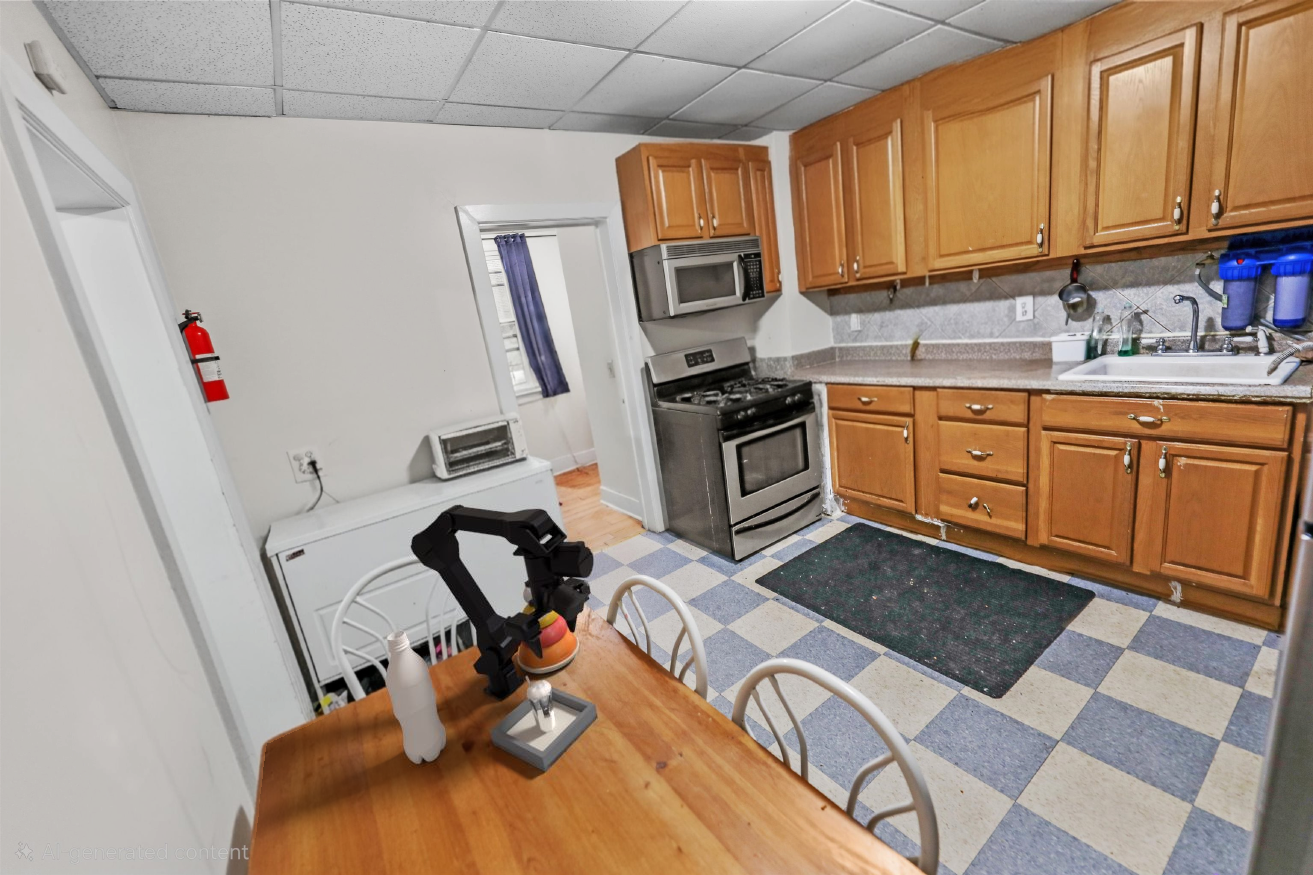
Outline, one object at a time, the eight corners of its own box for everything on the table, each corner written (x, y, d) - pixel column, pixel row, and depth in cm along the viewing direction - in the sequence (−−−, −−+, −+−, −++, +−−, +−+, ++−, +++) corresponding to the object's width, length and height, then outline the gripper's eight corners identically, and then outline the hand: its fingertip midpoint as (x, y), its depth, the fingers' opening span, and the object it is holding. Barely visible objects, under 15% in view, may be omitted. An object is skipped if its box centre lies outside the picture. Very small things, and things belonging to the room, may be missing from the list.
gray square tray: (493, 744, 101) (489, 730, 100) (546, 696, 112) (543, 683, 111) (545, 772, 93) (542, 757, 92) (597, 717, 104) (595, 704, 103)
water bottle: (434, 769, 97) (400, 647, 91) (399, 767, 98) (364, 647, 93) (456, 738, 104) (426, 623, 98) (423, 737, 105) (392, 623, 100)
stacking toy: (561, 631, 135) (547, 560, 130) (592, 654, 124) (578, 577, 119) (508, 660, 126) (491, 584, 122) (536, 687, 115) (519, 605, 111)
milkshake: (545, 713, 106) (535, 669, 103) (563, 723, 102) (554, 677, 100) (526, 728, 102) (516, 683, 100) (545, 739, 99) (535, 692, 97)
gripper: (536, 607, 93) (552, 684, 96) (604, 559, 108) (616, 628, 111) (494, 595, 99) (511, 668, 103) (564, 551, 114) (576, 617, 118)
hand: (556, 644), depth 108 cm, fingers open, 9 cm apart
